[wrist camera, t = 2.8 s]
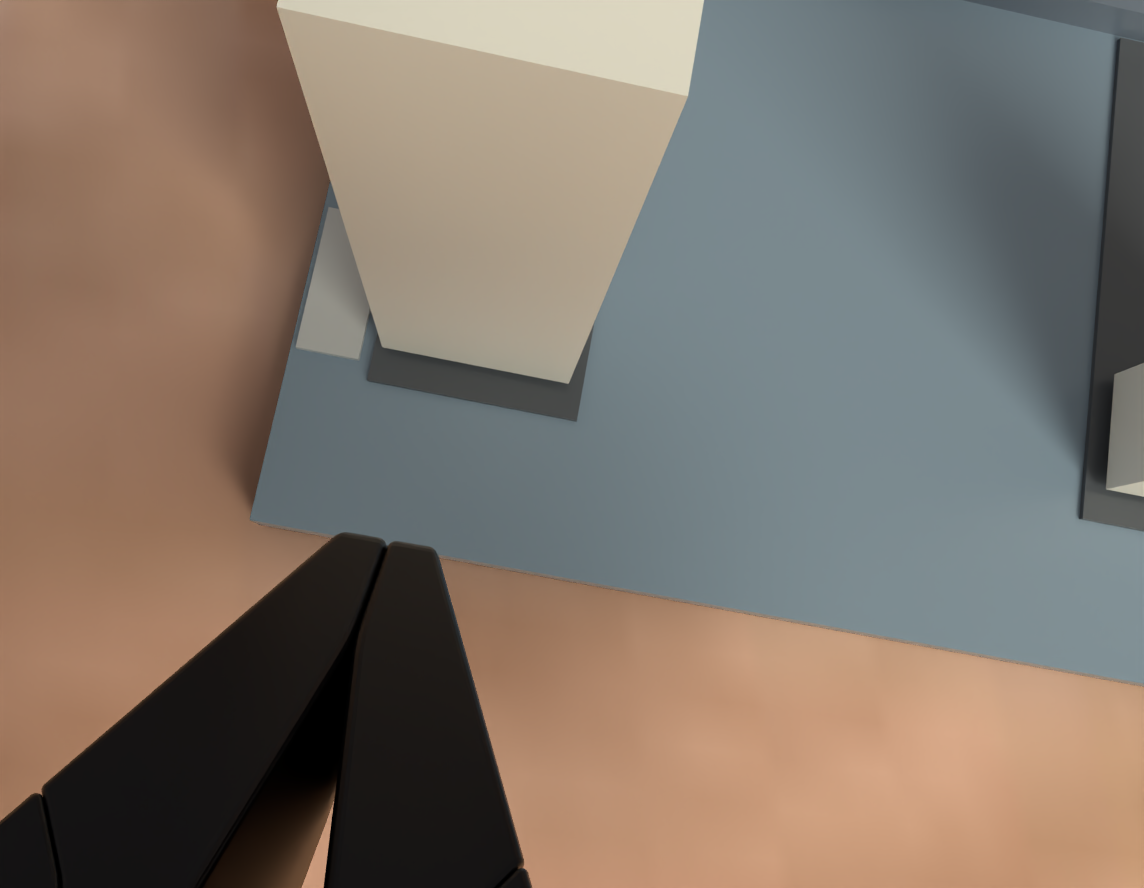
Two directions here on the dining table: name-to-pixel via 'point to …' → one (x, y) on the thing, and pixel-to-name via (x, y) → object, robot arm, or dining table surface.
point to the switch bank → (805, 350)
